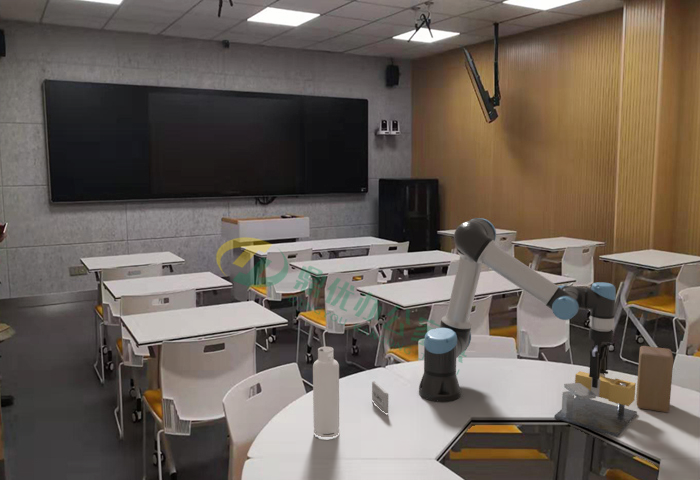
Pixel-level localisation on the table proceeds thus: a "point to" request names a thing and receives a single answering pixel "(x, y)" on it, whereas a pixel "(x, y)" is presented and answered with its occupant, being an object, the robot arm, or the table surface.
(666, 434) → the table surface
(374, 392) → the cassette
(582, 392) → the block
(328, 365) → the bottle
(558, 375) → the table surface
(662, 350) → the wooden block
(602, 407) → the base
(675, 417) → the table surface
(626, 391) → the link
